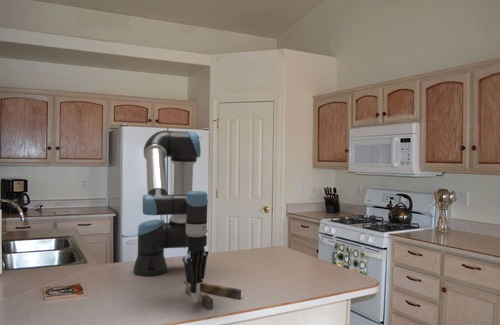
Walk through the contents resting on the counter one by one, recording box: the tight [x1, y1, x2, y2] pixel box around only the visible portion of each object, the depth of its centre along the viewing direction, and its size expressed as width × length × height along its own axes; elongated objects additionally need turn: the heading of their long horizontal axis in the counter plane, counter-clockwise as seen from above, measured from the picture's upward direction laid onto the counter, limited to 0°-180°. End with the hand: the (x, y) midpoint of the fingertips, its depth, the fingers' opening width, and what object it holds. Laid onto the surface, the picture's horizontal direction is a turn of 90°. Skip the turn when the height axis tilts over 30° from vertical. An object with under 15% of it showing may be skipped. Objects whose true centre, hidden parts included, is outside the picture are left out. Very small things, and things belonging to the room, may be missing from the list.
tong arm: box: [183, 280, 214, 310], centre depth 148 cm, size 22×2×4 cm, turn 31°
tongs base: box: [200, 282, 242, 300], centre depth 154 cm, size 23×4×4 cm, turn 63°
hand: (195, 300), depth 142 cm, fingers closed
